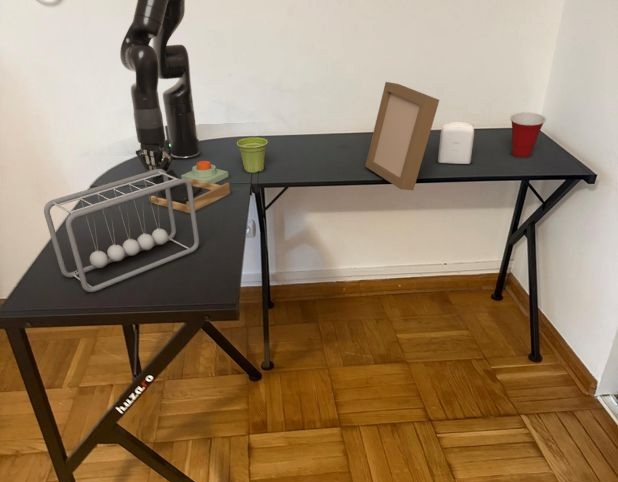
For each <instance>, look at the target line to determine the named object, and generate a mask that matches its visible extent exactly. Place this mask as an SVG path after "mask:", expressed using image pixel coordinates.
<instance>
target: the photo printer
mask: <svg viewBox="0 0 618 482" xmlns="http://www.w3.org/2000/svg"><path fill="white" fill-rule="evenodd" d="M474 128H475V127H474V125H473V124H471V123H468V122H465V121H450V122H446V123H444V124H442V127H441V129H440V133H439V134H440V135H439V146H438V156H437V162H438V163H439V164H454V165H455V164H456V165H457V164H460V165H470V164H471V161H472V153H473V147H474V138H475V129H474Z"/></svg>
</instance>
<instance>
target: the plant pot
mask: <svg viewBox="0 0 618 482" xmlns="http://www.w3.org/2000/svg"><path fill="white" fill-rule="evenodd" d="M268 143H269V142H268V140H267V139H266V138H262V137H255V136H254V137H244V138H241V139H238V140H237V141H236V145H237V147H238V150H239V152H240V157H241V161H242V164H243V170H244V171H245V172H247V173H252V174H256V173H258V172H263V171H264V169H265V159H266V158H265V156H266V148H267V145H268Z"/></svg>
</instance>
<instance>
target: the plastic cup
mask: <svg viewBox="0 0 618 482" xmlns="http://www.w3.org/2000/svg"><path fill="white" fill-rule="evenodd" d="M509 119H510V121H511V155H512V156H514V157H517V158H528V157H529V158H530V157H531V155H532V152H533V150H534V147H535V145H536V142H537V140H538V137H539V136H540V135H539V134H540V133H541V130H542V127H543V126H544V123H545V122H546V121H547V118H546V117H545V116H544V115H543V114H540V113H537V112H524V111H523V112H516V113H514V114H511V116H510V118H509Z"/></svg>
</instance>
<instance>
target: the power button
mask: <svg viewBox="0 0 618 482" xmlns="http://www.w3.org/2000/svg"><path fill="white" fill-rule="evenodd" d="M210 164H211V162H210V161H208V160H200V161H198V162H196V165H197V169H198V170H208V169H211V165H210Z"/></svg>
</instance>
